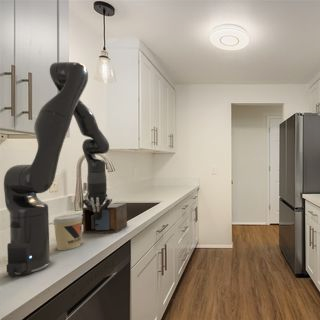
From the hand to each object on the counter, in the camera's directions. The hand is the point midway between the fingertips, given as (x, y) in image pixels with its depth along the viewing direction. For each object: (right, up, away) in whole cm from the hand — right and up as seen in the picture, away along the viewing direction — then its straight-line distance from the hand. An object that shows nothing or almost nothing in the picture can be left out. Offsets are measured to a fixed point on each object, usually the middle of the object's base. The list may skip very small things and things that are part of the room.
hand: (98, 219), depth 108 cm
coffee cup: (-3, -7, -14) cm, 16 cm away
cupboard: (-1, -7, +8) cm, 11 cm away
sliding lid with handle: (0, -6, +2) cm, 6 cm away
